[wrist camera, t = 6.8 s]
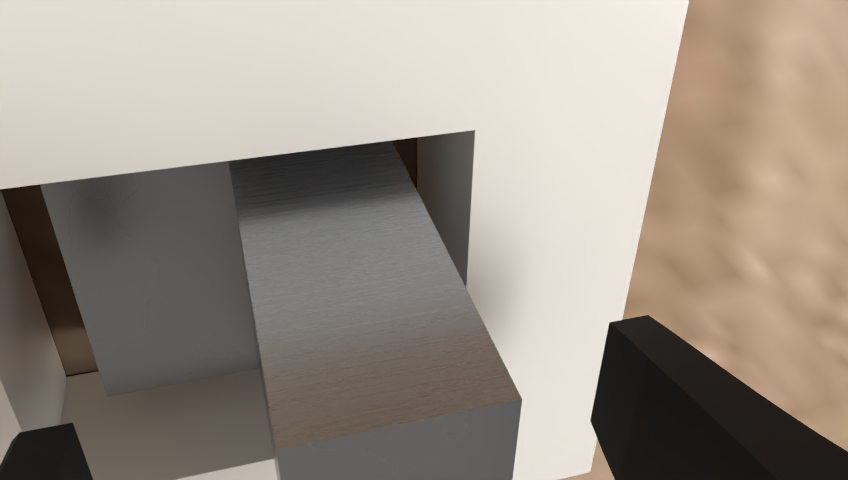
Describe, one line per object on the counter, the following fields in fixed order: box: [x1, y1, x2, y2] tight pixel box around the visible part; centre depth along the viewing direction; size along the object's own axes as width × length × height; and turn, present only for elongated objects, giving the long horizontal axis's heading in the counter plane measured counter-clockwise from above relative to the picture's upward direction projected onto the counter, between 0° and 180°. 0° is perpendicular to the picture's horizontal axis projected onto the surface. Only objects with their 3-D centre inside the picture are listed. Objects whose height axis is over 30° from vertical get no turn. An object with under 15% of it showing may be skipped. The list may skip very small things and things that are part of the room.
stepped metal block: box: [40, 140, 522, 480], centre depth 12 cm, size 5×4×8 cm
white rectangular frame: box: [0, 0, 689, 480], centre depth 13 cm, size 13×11×3 cm
